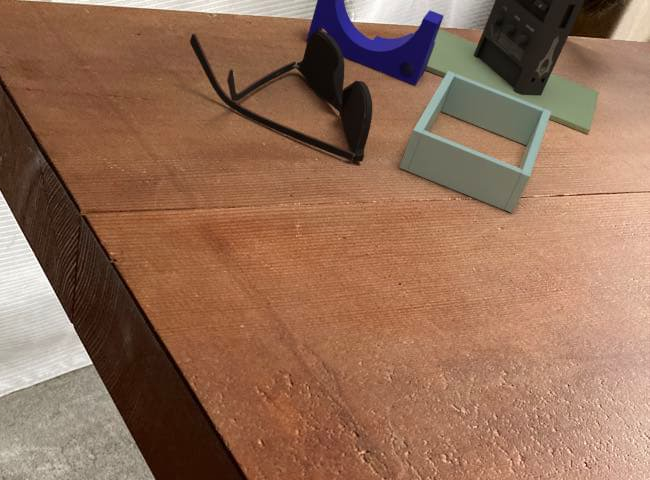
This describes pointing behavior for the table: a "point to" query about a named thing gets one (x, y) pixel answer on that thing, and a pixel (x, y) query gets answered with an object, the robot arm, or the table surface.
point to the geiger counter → (526, 40)
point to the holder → (469, 165)
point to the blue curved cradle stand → (379, 42)
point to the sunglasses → (327, 81)
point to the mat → (558, 95)
